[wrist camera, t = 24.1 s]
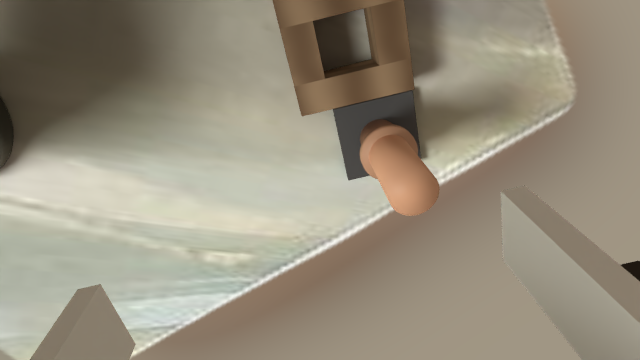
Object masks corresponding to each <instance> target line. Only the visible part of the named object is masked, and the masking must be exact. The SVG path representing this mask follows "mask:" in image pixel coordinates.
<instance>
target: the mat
mask: <svg viewBox="0 0 640 360" xmlns="http://www.w3.org/2000/svg"><path fill="white" fill-rule="evenodd" d="M333 112H334V117H335V121H336V126H337V130H338V135H339V140H340V144H341V149H342V154H343V158H344V163H345V168H346V172H347V177H348V180H352V179H357V178H361V177H365V176H369V174H368V173H367V172H366V171H365V169H364V167H363V165H362V163H361V160H360V147H361V143H360V135H361V132H362V130H363V128H364V127H365V126H366V125H367V124H368V123H369V122H371V121H373V120H377V119H383V120H387V121H389V122H391V123H392V124H394V125H398V126H401V127H403V128H405V129H406V130H407V131H408V132H409V133H410V134H411V135H412V136H413V137H414V139H415V141H416V143H417V147H418V156H419V158H420V159H421V155H420V147H419V139H418V131H417V123H416V115H415V107H414V99H413V91H412V90H409V91H405V92H401V93H397V94H393V95H389V96H384V97H380V98H376V99H372V100H368V101H364V102H359V103H355V104H351V105H347V106H343V107H339V108H335V109H333Z"/></svg>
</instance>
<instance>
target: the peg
mask: <svg viewBox="0 0 640 360" xmlns="http://www.w3.org/2000/svg"><path fill="white" fill-rule="evenodd" d="M360 143H361V147H360V160H361V163H362V165H363V167H364V169H365V171H366V172H367V173H368V174H369V175H370V176H372V177H373V178H375V179H378V180H379V182H380V184H381V186H382V188H383V190H384V192H385V194H386V196H387V198H388V200H389V202H390V204H391V206H392V207H393V209H394V210H395V211H397V212H398V213H400V214H403V215H408V216H409V215H410V216H413V215H418V214H421V213H423V212H425V211H427V210H428V209H430V208H431V207H432V206H433V205H434V203H435V202H436V200H437V198H438V195H439V184H438V181H437V179H436V178H435V177H434V175H433V174H432V173H431V172H430V170H429V169H428V168H427V167H426V165H425V164H424V163H423V161H422V160H421V159H420V158H419V156H418V147H417V143H416V141H415V139H414V137H413V136H412V135H411V134H410V133H409V132H408V131H407V130H406V129H405V128H403V127H401V126H398V125H394V124H392V123H391V122H389V121H387V120H383V119H377V120H373V121H371V122H369V123H368V124H367V125H366V126H365V127H364V128H363V130H362V132H361V135H360Z"/></svg>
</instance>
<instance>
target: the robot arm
mask: <svg viewBox="0 0 640 360" xmlns="http://www.w3.org/2000/svg"><path fill="white" fill-rule="evenodd" d="M12 145H13V128H12V123H11V119H10V116H9V114H8V111H7V109H6V107H5V105H4V103H3V101H2V100H1V98H0V168H1V167H2V166H3V165H4V163H5V162H6V161H7V159H8V157H9V155H10V152H11V149H12ZM501 214H502V242H503V243H502V245H503V261H504V262H505V263H506V265H507V266H508V267H509V268H510V270H511V271H512V272H513V273H514V275H515V276H516V277H517V279H518V280H519V281H520V282H521V283H522V285H523V286H524V287H525V289H526V290H527V291H528V292H529V294H530V295H531V296H532V297H533V299H534V300H535V301H536V302H537V304H538V305H539V306H540V307H541V309H542V310H543V311H544V313H545V314H546V315H547V316H548V318H549V319H550V320H551V321H552V323H553V324H554V325H555V326H556V328H557V329H558V330H559V331H560V333H561V334H562V335H563V336H564V338H565V339H566V340H567V342H568V343H569V344H570V345H571V347H572V348H573V349H574V350H575V352H576V353H577V354H578V356H579V357H580V358H581V359H582V360H640V261H635V262H631V263H626V264H622V265H619V264H618V263H617V262H616V261H615V260H613V259H612V258H611V257H610V256H609V255H607V254H606V253H605V252H603V250H601V249H600V248H599V247H598V246H597V245H595V244H594V243H593V242H592V241H591V240H589V239H588V238H587V237H586V236H585V235H583V234H582V233H581V232H580V231H579V230H578V229H576V228H575V227H574V226H573V225H572V224H570V223H569V222H568V221H567V220H566V219H564V218H563V217H562V216H561V215H559V214H558V213H557V212H556V211H555V210H554V209H552V208H551V207H550V206H549V205H548V204H546V203H545V202H544V201H543V200H542V199H540V198H539V197H538V196H537V195H535V194H534V193H533V192H532V191H531V190H529V189H528V188H527V187H526V186H520V187H516V188H512V189H507V190H503V191H501ZM134 347H135V342H134V341H133V339H132V337H131V336H130V334H129V332H128V330H127V329H126V327H125V325H124V324H123V322H122V320H121V319H120V317H119V315H118V313H117V312H116V310H115V308H114V307H113V305H112V303H111V301H110V300H109V298H108V296H107V295H106V293H105V291H104V289H103V288H102V286H101V284H99V285H95V286H90V287H86V288H82V289H78V290H77V291H76V293H75V294H74V296H73V297H72V299H71V300H70V301H69V303H68V304H67V306H66V307H65V309H64V310H63V312H62V313H61V315H60V316H59V318H58V319H57V321H56V322H55V324H54V325H53V326H52V328H51V329H50V331H49V332H48V334H47V335H46V337H45V338H44V340H43V341H42V343H41V344H40V346H39V347H38V349H37V350H36V351H35V353H34V354H33V356H32V357H31V359H30V360H129V359H130V356H131V354H132V352H133V349H134Z"/></svg>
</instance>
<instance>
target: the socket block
mask: <svg viewBox="0 0 640 360" xmlns="http://www.w3.org/2000/svg"><path fill="white" fill-rule="evenodd" d="M273 4H274V8H275V12H276V16H277V20H278V24H279V28H280V32H281V36H282V40H283V44H284V48H285V52H286V56H287V59H288V63H289V67H290V71H291V75H292V79H293V83H294V87H295V91H296V95H297V99H298V103H299V107H300V111H301V115H302V116H305V115H310V114H314V113H318V112H322V111H326V110H330V109H335V108H339V107H343V106H347V105H351V104H355V103H359V102H364V101H368V100H372V99H376V98H380V97H384V96H389V95H393V94H397V93H401V92H405V91H409V90H414V89H415V88H414V79H413V71H412V63H411V55H410V47H409V39H408V30H407V22H406V14H405V6H404V0H273ZM363 8H364V13H365V19H366V26H367V32H368V38H369V44H370V50H371V56H372V59H371V60H367V61H363V62H359V63H355V64H350V65H346V66H342V67H338V68H334V69H330V70H326V71H323V66H322V62H321V57H320V53H319V48H318V43H317V39H316V34H315V30H314V25H313V21H314V20H318V19H322V18H326V17H330V16H334V15H339V14H343V13H347V12H351V11H355V10H359V9H363Z"/></svg>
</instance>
